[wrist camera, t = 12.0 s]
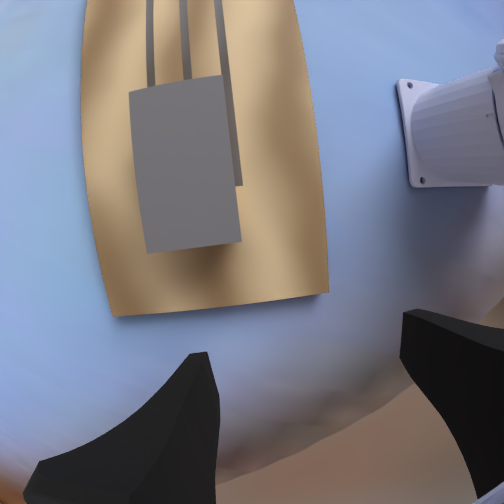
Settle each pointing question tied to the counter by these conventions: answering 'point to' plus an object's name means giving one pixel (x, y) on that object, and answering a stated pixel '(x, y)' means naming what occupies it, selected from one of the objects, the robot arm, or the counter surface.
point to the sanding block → (184, 165)
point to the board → (241, 140)
